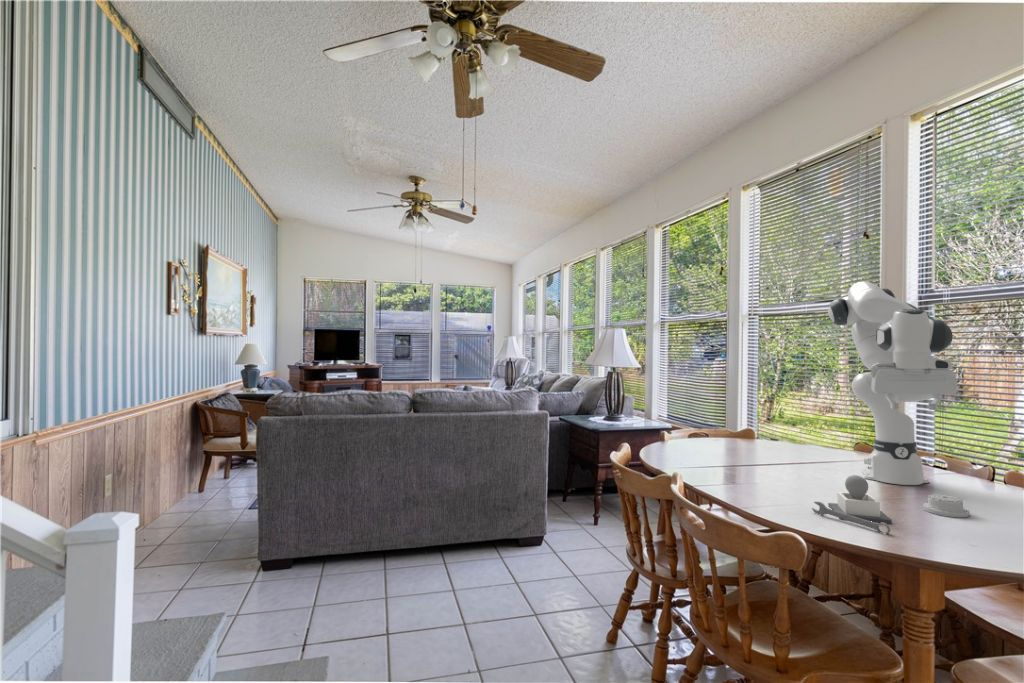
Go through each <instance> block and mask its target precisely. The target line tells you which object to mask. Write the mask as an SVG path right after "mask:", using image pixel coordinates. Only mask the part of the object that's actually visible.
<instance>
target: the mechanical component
mask: <svg viewBox="0 0 1024 683" xmlns="http://www.w3.org/2000/svg"><path fill="white" fill-rule="evenodd" d="M927 501H928V502H925V503H923V504H922V505H923V506H922V509H923V510H924V511H925V510H926V512H929V513H931V514H934V515H939V516H943V517H951V518H967V517H970V510H969V509H967V508H965V507H964V502H963V501H964V500H963V499H960V498H959V497H956V496H952V495H946V494H935V493H934V494H928V495H927Z"/></svg>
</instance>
